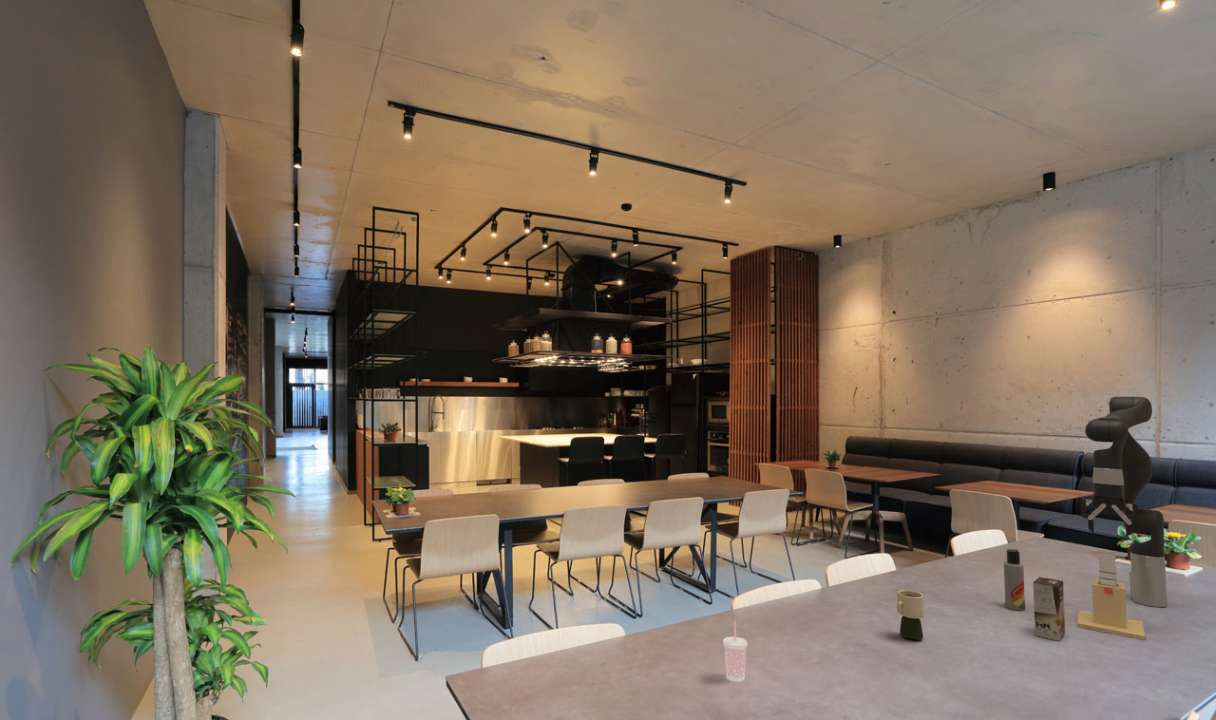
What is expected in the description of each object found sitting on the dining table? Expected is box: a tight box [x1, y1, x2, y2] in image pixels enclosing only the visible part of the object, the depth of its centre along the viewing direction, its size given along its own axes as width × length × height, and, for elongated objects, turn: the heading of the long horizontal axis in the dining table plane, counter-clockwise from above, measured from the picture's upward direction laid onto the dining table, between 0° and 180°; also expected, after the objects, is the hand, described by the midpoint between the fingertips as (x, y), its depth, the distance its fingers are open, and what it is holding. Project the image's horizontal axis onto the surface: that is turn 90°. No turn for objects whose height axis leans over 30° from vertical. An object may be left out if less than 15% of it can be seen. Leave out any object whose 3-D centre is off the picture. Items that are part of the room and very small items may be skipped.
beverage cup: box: [722, 620, 748, 683], centre depth 152 cm, size 6×6×14 cm
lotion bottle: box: [1003, 548, 1026, 612], centre depth 207 cm, size 6×6×20 cm
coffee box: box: [1032, 576, 1066, 642], centre depth 183 cm, size 9×6×16 cm
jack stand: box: [1077, 578, 1146, 641], centre depth 190 cm, size 16×16×13 cm
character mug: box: [896, 589, 925, 640], centre depth 179 cm, size 11×7×13 cm, turn 114°
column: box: [1098, 553, 1118, 587], centre depth 191 cm, size 4×4×20 cm
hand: (1109, 534), depth 189 cm, fingers open, 8 cm apart
